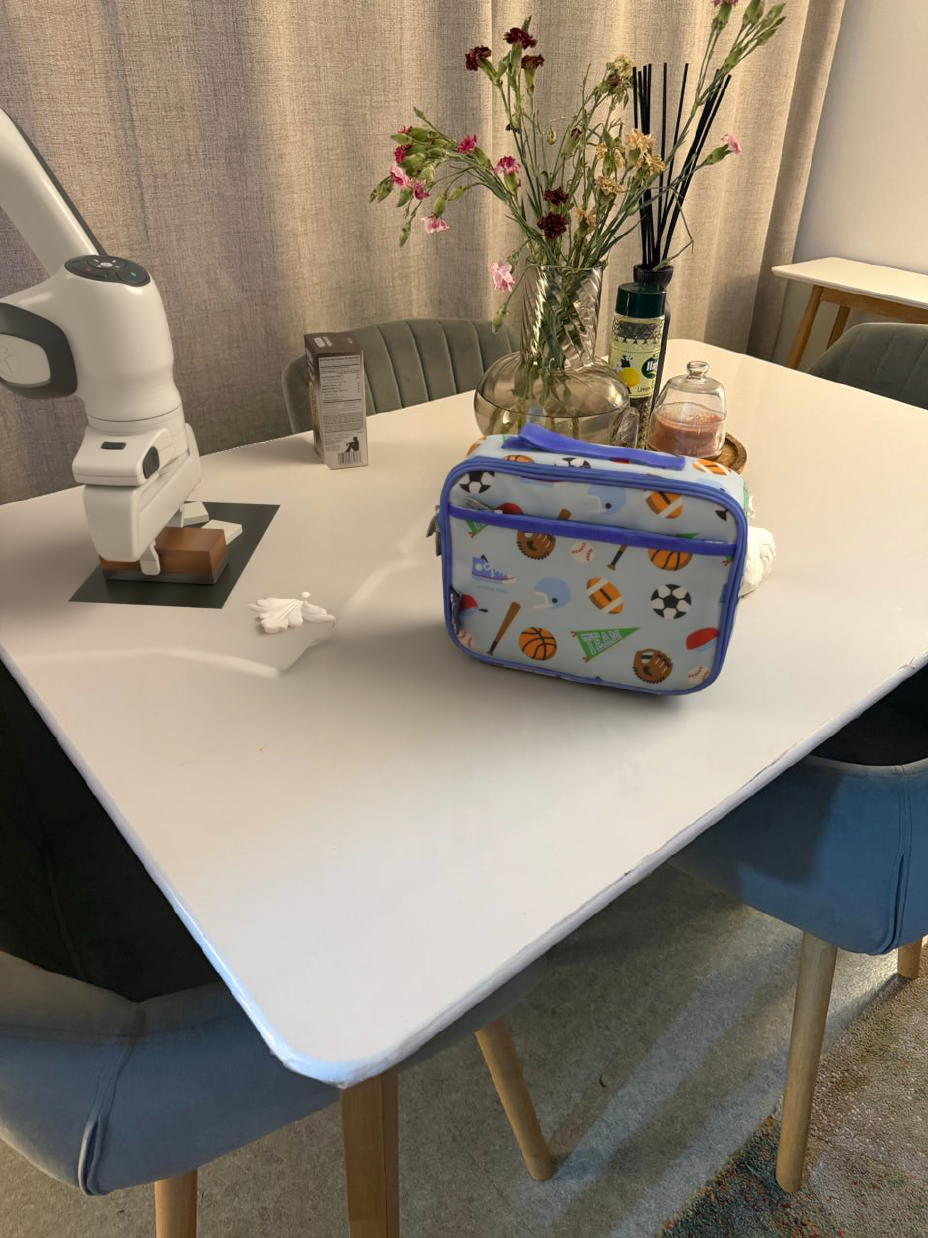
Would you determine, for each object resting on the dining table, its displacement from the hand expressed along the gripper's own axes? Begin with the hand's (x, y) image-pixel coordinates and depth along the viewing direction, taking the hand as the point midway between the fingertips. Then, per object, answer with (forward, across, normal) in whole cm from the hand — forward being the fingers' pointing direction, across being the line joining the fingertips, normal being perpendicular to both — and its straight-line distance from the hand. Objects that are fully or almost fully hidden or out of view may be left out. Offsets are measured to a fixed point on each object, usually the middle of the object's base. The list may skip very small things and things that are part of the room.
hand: (164, 557), depth 95 cm
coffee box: (+3, -35, +12) cm, 37 cm away
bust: (+3, -4, +60) cm, 60 cm away
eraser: (+2, 0, 0) cm, 2 cm away
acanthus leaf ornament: (+3, +7, +15) cm, 17 cm away
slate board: (+3, -5, 0) cm, 6 cm away
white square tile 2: (+2, -8, +3) cm, 9 cm away
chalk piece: (+2, -13, -2) cm, 13 cm away
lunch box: (+3, +11, +43) cm, 45 cm away
